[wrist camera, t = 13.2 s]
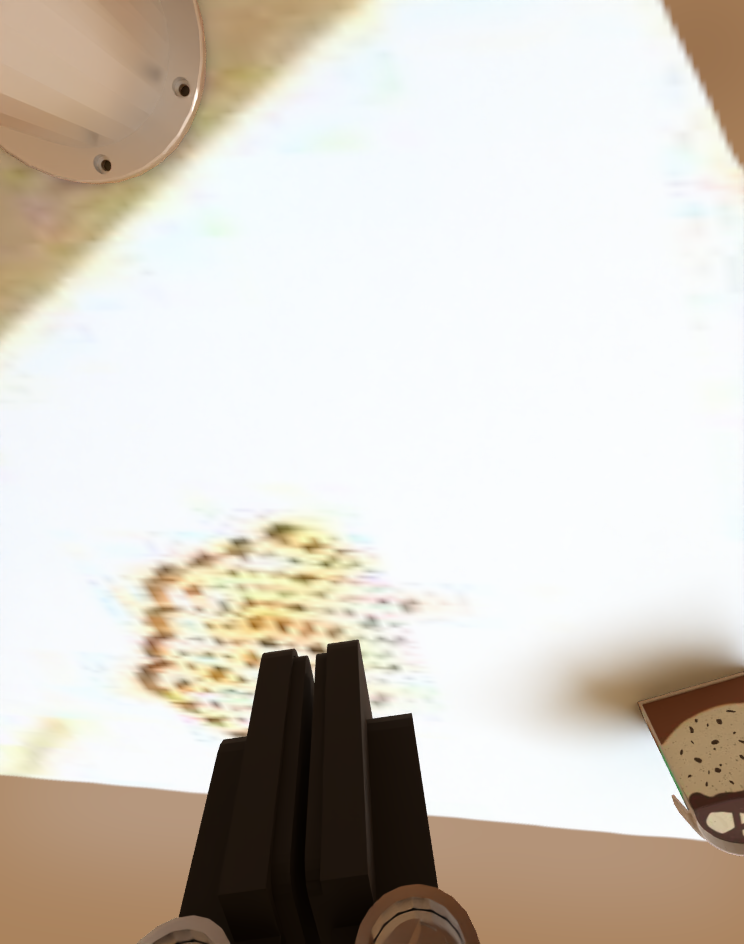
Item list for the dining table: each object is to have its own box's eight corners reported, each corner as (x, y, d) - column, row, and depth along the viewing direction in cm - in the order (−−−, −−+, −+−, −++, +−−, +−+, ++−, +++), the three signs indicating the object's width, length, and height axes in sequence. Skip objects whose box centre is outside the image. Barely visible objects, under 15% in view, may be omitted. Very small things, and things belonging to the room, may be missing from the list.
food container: (630, 759, 49) (698, 881, 40) (619, 707, 47) (688, 823, 38) (776, 718, 48) (880, 834, 39) (772, 663, 46) (881, 771, 37)
